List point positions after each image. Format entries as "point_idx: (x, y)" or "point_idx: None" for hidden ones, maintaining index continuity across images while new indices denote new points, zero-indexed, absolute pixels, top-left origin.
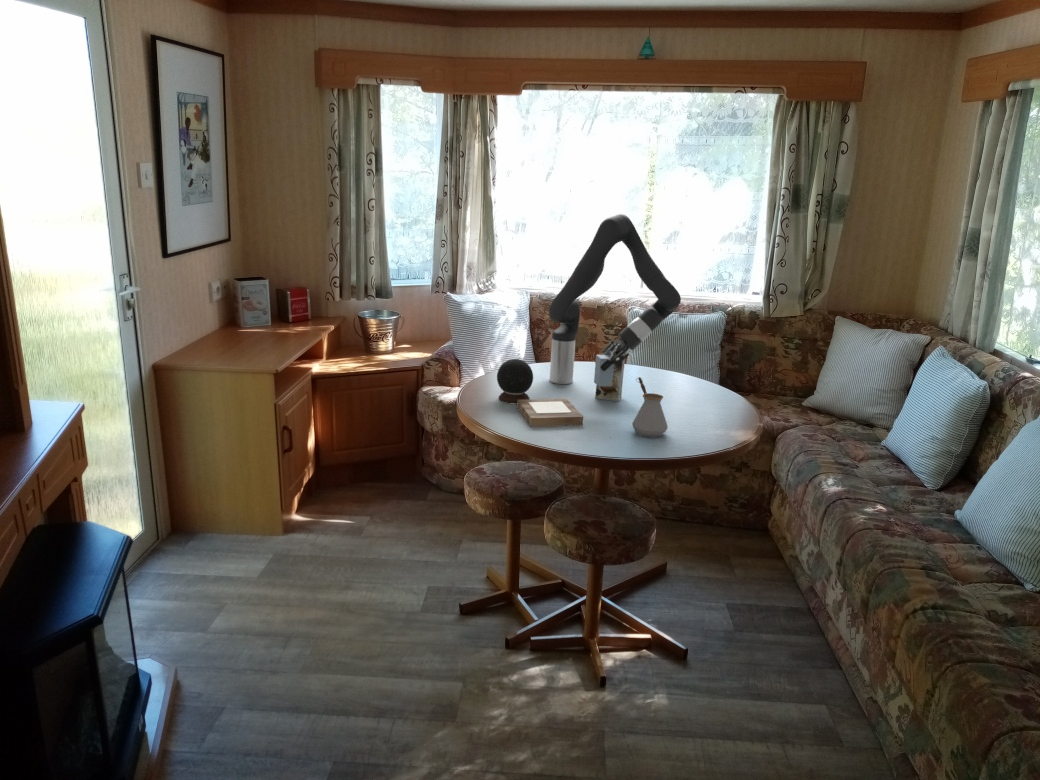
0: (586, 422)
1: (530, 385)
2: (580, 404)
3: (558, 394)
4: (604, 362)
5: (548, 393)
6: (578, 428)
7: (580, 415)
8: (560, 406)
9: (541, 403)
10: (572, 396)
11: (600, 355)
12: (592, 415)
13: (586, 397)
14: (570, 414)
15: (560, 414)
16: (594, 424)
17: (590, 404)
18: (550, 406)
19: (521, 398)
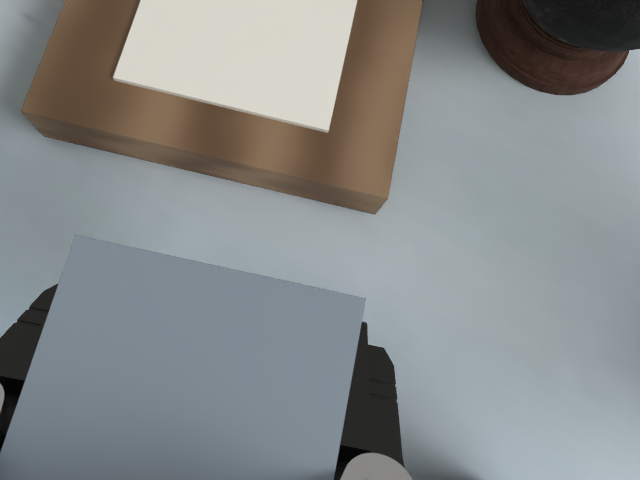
0: (78, 180)
1: (545, 7)
2: (392, 318)
3: (599, 285)
4: None
5: (623, 238)
6: (7, 88)
7: (49, 106)
8: (238, 73)
9: (323, 5)
10: (550, 350)
11: (291, 356)
12: None
13: (516, 432)
14: (92, 62)
15: (116, 12)
16: (26, 205)
17: None
18: (257, 23)
19: (500, 12)
